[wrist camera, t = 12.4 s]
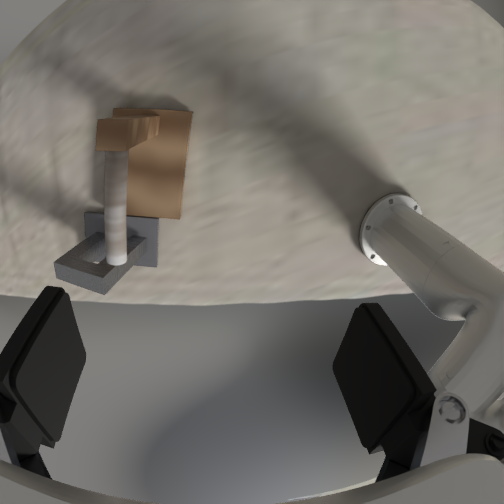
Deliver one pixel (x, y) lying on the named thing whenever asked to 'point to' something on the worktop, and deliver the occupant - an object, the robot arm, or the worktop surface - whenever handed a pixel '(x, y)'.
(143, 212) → the hook stand
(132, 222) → the rubber mat
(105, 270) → the grey u-shaped bracket
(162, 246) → the worktop surface
